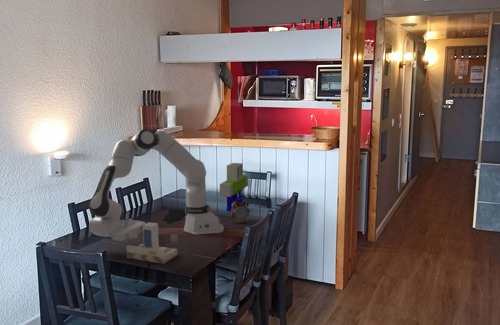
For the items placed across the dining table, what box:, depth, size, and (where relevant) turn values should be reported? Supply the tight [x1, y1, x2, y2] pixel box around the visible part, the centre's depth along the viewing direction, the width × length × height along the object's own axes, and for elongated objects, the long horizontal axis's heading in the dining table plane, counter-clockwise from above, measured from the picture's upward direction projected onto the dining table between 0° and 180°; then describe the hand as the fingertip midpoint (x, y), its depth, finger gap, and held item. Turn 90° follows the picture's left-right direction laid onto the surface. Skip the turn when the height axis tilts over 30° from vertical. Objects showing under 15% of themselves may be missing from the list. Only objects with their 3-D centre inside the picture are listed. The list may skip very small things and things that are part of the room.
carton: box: [142, 221, 160, 250], centre depth 223 cm, size 5×5×13 cm
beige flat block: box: [126, 243, 178, 264], centre depth 224 cm, size 20×12×6 cm, turn 69°
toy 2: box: [219, 162, 249, 213], centre depth 306 cm, size 34×7×30 cm, turn 161°
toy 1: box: [161, 209, 186, 225], centre depth 293 cm, size 12×1×30 cm
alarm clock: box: [229, 197, 250, 225], centre depth 279 cm, size 11×5×15 cm, turn 115°
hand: (143, 232), depth 224 cm, fingers open, 8 cm apart
